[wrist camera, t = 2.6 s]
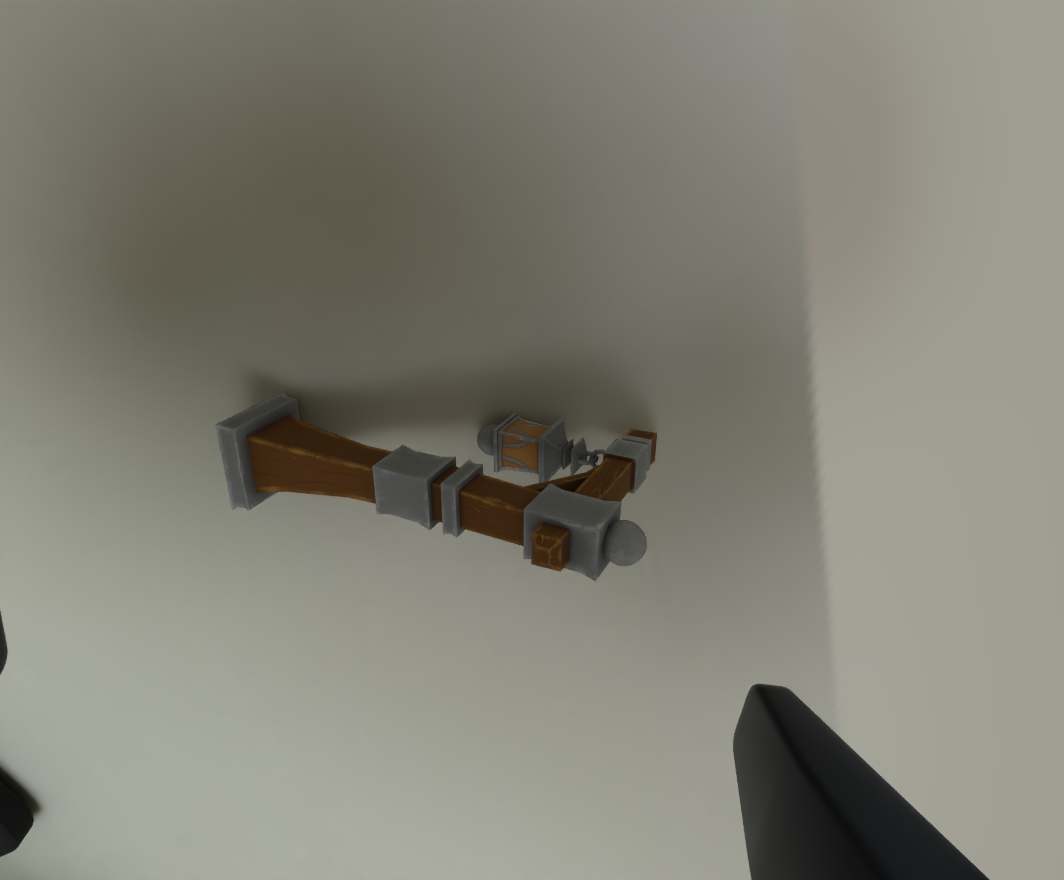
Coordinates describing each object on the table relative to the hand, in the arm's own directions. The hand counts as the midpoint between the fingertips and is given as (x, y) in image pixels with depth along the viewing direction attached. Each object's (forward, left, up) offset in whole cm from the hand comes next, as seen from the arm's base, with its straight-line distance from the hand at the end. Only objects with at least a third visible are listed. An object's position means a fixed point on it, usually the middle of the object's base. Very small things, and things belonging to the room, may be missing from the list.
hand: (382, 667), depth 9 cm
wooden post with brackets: (0, 0, -7) cm, 7 cm away
